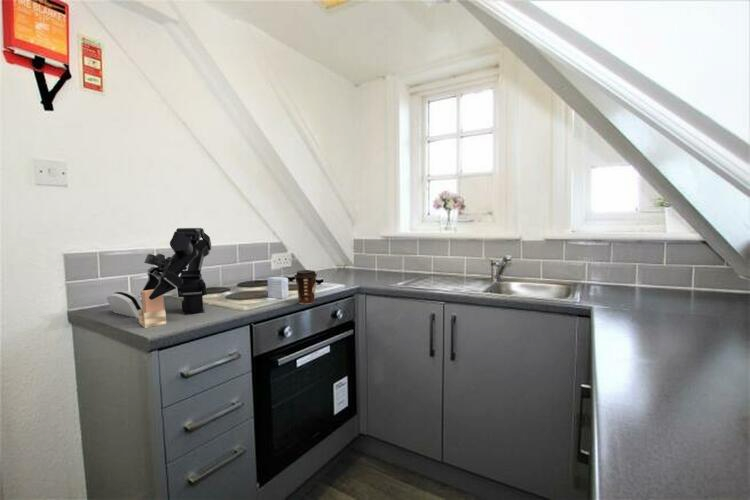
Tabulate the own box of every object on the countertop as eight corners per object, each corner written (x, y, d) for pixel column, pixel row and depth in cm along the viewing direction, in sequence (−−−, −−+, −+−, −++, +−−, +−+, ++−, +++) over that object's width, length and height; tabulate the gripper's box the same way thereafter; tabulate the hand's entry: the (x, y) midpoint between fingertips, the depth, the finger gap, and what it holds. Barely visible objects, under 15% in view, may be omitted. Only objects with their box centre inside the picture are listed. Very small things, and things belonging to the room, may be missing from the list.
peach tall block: (161, 317, 122) (159, 288, 121) (165, 319, 119) (163, 289, 118) (143, 320, 118) (141, 290, 117) (147, 323, 115) (145, 292, 115)
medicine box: (288, 297, 156) (288, 277, 156) (282, 299, 152) (281, 279, 152) (274, 295, 160) (274, 276, 159) (267, 297, 156) (267, 278, 155)
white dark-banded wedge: (152, 314, 130) (140, 290, 126) (139, 321, 126) (127, 297, 123) (127, 309, 138) (115, 286, 134) (114, 316, 134) (102, 293, 131)
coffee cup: (312, 299, 151) (312, 269, 150) (321, 303, 144) (320, 271, 143) (293, 302, 146) (292, 270, 145) (300, 306, 140) (299, 273, 138)
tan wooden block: (159, 319, 123) (158, 306, 123) (166, 323, 118) (165, 310, 118) (138, 323, 119) (137, 309, 118) (145, 327, 114) (144, 313, 113)
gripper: (152, 243, 125) (116, 278, 118) (170, 245, 113) (131, 285, 106) (178, 263, 132) (145, 298, 125) (197, 268, 119) (162, 306, 112)
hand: (145, 296), depth 117 cm, fingers open, 9 cm apart
